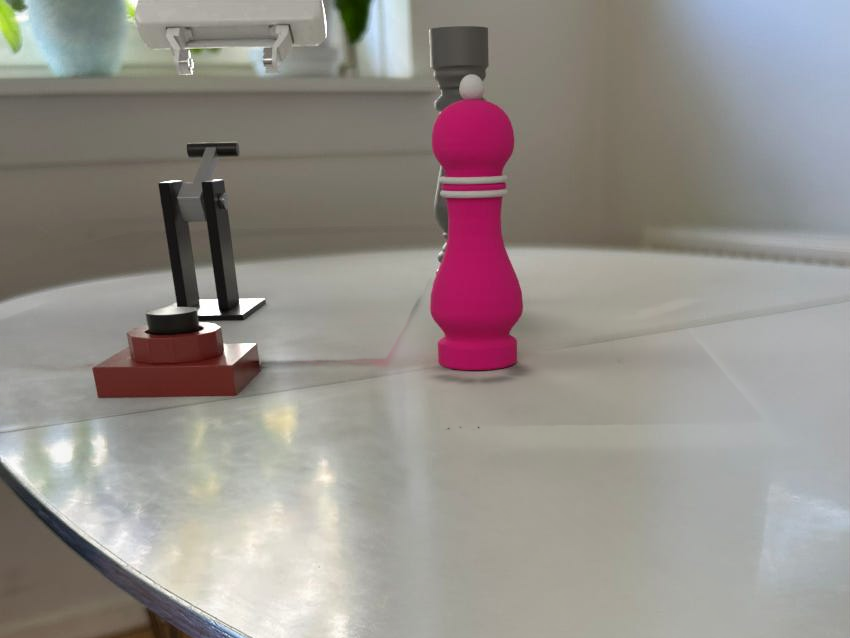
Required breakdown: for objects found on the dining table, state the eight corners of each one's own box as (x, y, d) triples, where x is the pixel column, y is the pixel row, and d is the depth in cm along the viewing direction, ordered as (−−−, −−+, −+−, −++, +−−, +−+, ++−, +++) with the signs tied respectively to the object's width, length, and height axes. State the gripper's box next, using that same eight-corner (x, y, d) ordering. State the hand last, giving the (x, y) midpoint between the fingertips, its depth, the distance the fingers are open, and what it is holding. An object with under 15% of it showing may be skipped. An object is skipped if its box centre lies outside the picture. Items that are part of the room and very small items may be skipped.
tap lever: (192, 159, 101) (186, 135, 99) (241, 158, 101) (236, 134, 99) (168, 222, 94) (161, 197, 92) (221, 221, 94) (215, 196, 92)
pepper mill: (435, 354, 83) (424, 78, 73) (522, 352, 82) (522, 75, 73) (429, 373, 76) (415, 73, 67) (523, 371, 76) (523, 70, 67)
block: (97, 398, 71) (86, 341, 69) (134, 374, 78) (125, 321, 77) (236, 396, 71) (228, 338, 69) (260, 371, 78) (254, 318, 76)
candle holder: (459, 297, 110) (452, 33, 98) (506, 301, 107) (503, 28, 95) (425, 305, 105) (412, 29, 94) (472, 309, 102) (465, 24, 91)
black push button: (143, 340, 71) (138, 315, 71) (158, 331, 75) (154, 307, 74) (192, 339, 71) (188, 314, 71) (206, 330, 75) (202, 306, 74)
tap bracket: (181, 315, 103) (160, 179, 97) (267, 313, 103) (251, 177, 97) (150, 332, 94) (125, 184, 89) (244, 331, 94) (225, 182, 88)
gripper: (133, -54, 107) (118, 44, 103) (322, -59, 106) (315, 40, 102) (153, -1, 113) (140, 95, 109) (332, -5, 112) (326, 91, 108)
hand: (226, 68), depth 106 cm, fingers open, 8 cm apart
